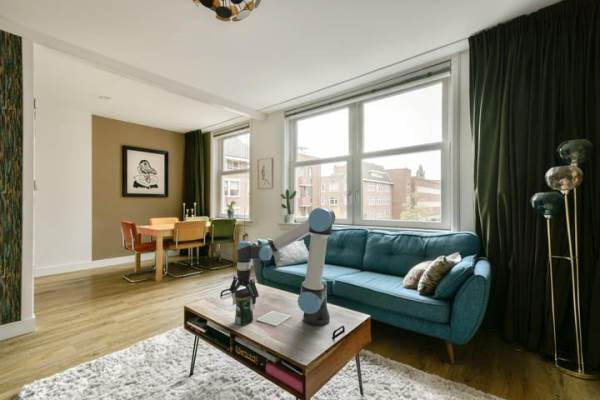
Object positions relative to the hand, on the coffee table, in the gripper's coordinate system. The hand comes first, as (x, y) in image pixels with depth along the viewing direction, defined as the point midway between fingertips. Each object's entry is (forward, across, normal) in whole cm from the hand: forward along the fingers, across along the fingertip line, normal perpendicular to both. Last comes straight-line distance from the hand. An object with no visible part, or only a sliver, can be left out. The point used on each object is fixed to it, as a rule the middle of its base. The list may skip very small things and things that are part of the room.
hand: (243, 306), depth 152 cm
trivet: (+8, -12, -12) cm, 19 cm away
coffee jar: (+9, 0, 0) cm, 9 cm away
